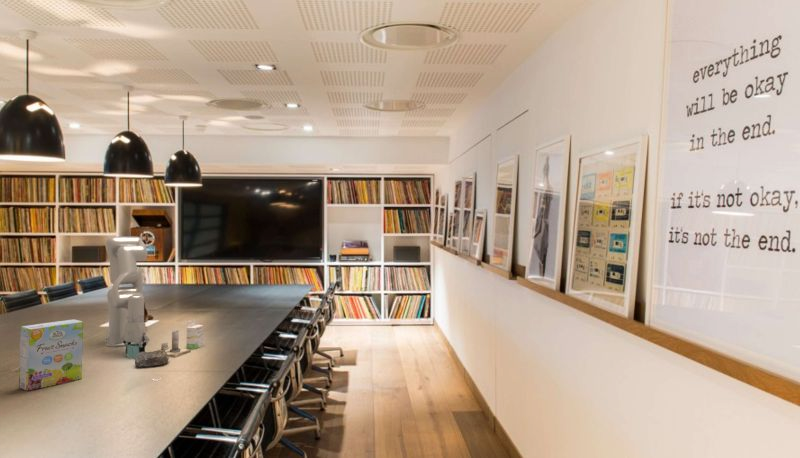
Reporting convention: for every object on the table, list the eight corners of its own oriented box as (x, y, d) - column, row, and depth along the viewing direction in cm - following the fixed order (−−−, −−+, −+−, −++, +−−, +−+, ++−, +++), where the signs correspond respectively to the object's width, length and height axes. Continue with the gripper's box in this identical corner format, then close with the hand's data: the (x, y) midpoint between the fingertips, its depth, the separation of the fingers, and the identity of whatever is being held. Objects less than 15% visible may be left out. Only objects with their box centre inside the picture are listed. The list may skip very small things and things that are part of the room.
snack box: (28, 392, 216) (28, 328, 215) (18, 388, 220) (18, 326, 220) (83, 379, 234) (84, 320, 234) (73, 375, 239) (73, 318, 238)
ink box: (194, 349, 289) (194, 322, 288) (186, 348, 290) (186, 321, 289) (203, 345, 297) (203, 319, 297) (195, 345, 298) (195, 318, 298)
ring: (123, 357, 270) (123, 345, 270) (134, 354, 277) (134, 342, 277) (136, 358, 268) (136, 347, 268) (146, 355, 275) (146, 343, 275)
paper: (127, 377, 239) (127, 375, 239) (169, 373, 246) (169, 371, 246) (122, 395, 216) (122, 392, 216) (169, 390, 223) (169, 388, 223)
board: (149, 354, 276) (149, 331, 276) (164, 349, 288) (165, 327, 288) (175, 357, 272) (175, 333, 272) (190, 351, 284) (190, 329, 283)
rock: (134, 370, 250) (169, 367, 257) (134, 356, 250) (169, 354, 257) (135, 362, 262) (168, 360, 268) (135, 349, 262) (169, 347, 268)
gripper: (115, 319, 271) (115, 354, 271) (144, 321, 266) (144, 357, 267) (126, 317, 278) (126, 350, 278) (155, 319, 273) (155, 353, 274)
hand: (135, 353), depth 272 cm, fingers closed on ring, 7 cm apart
